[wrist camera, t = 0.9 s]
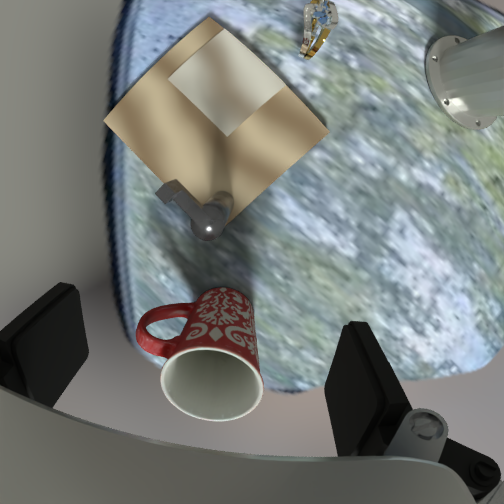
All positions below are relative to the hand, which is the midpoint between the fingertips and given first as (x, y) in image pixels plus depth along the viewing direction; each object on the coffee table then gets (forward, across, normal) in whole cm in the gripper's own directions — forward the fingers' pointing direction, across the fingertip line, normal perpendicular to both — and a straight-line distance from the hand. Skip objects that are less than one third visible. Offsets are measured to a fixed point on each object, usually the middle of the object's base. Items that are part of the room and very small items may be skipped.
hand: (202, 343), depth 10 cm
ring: (+25, -5, -20) cm, 32 cm away
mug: (+25, +2, +12) cm, 28 cm away
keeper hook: (+23, +3, -2) cm, 23 cm away
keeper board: (+25, +4, -9) cm, 26 cm away
